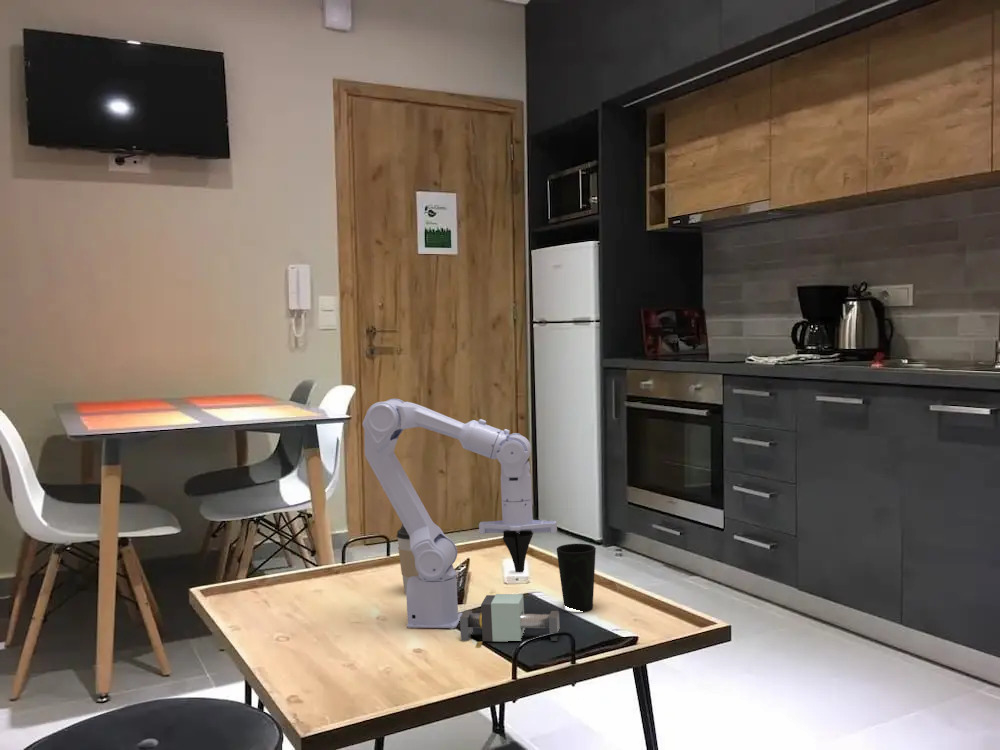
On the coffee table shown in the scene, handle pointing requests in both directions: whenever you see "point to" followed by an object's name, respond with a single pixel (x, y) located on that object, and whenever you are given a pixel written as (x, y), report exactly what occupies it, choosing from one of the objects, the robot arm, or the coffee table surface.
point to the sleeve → (507, 617)
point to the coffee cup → (406, 556)
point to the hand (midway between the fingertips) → (519, 570)
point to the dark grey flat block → (487, 618)
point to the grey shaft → (527, 621)
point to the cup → (577, 575)
